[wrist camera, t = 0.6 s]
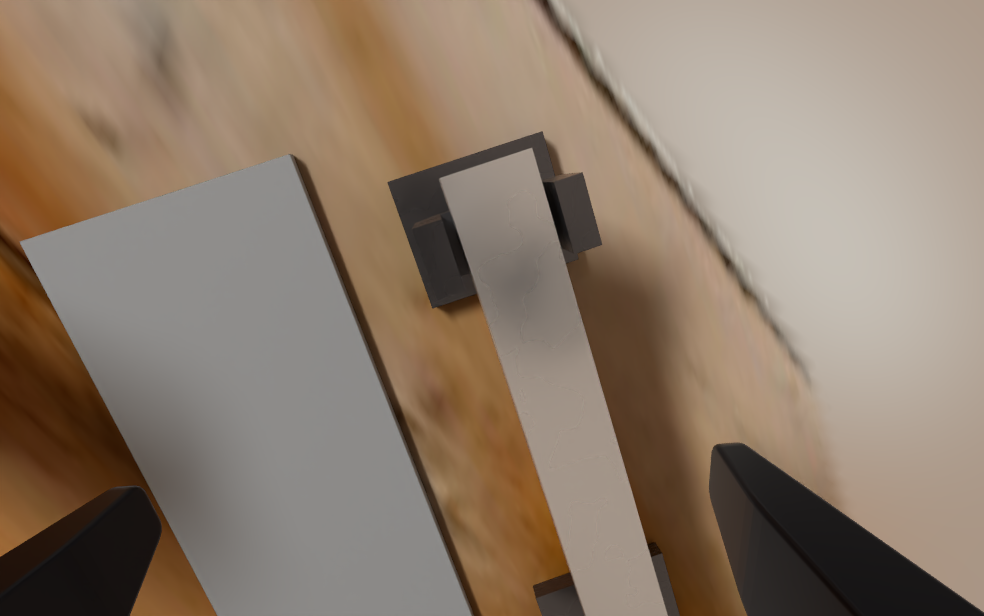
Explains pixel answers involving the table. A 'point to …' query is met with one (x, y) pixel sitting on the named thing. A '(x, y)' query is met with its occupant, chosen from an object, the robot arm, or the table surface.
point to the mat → (251, 399)
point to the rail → (553, 381)
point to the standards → (453, 281)
